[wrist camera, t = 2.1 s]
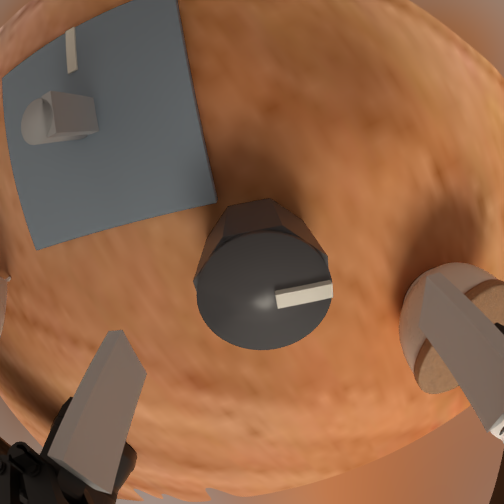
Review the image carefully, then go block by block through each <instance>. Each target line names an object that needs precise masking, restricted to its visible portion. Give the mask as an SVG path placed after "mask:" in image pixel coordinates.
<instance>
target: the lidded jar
mask: <svg viewBox="0 0 504 504" xmlns="http://www.w3.org/2000/svg"><path fill="white" fill-rule="evenodd" d="M439 272H440V273H441V274H442V275H443V276H445V277H446V278H447V279H448V280H449V281H450V282H451V283H452V284H453V285H454V286H456V287H457V288H458V289H459V290H460V291H461V292H462V293H463V294H464V295H465V296H466V297H467V298H468V299H469V300H470V301H471V302H472V303H473V304H474V305H475V306H476V307H477V308H478V309H479V310H480V311H481V312H482V313H483V314H484V315H485V316H486V317H487V318H488V319H489V320H490V321H491V322H492V323H493V324H495V323H497V322H498V323H499V324H501V325H503V326H504V282H503V281H501V280H498V279H497V278H496V277H494V276H493V275H492V274H490V273H489V272H487V271H485V270H483V269H481V268H479V267H477V266H474V265H471V264H468V263H460V262H453V263H447V264H443V265H440V266H438V267H436V268H432V269H430V270H428V271H426V272H424V273H423V274H421V275H420V276H419V277H418V278H417V279H416V280H415V281H414V282H413V283H412V285H411V286H410V288H409V289H408V291H407V293H406V295H405V298H404V302H403V307H402V310H401V314H400V319H399V338H400V343H401V347H402V350H403V353H404V356H405V358H406V361H407V363H408V365H409V367H410V368H411V370H412V372H413V374H414V376H415V380H416V382H417V383H418V385H419V387H420V388H421V390H423V391H424V392H426V393H429V394H438V393H443V392H446V391H449V390H451V389H454V388H456V387H457V386H459V384H458V383H457V381H456V379H455V378H454V376H453V375H452V373H451V372H450V370H449V369H448V367H447V366H446V364H445V363H444V361H443V360H442V358H441V357H440V356H439V354H438V353H437V351H436V350H435V348H434V347H433V346H432V344H431V343H430V341H429V340H428V339H427V337H426V336H425V334H424V333H423V332H422V330H421V329H420V328H419V326H418V325H419V320H420V315H421V309H422V303H423V297H424V290H425V283H426V276H428V275H432V274H435V273H439Z"/></svg>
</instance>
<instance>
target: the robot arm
mask: <svg viewBox="0 0 504 504" xmlns="http://www.w3.org/2000/svg"><path fill="white" fill-rule="evenodd" d="M418 326H419V328H420V329H421V330H422V332H423V333H424V334H425V336H426V337H427V339H428V340H429V341H430V343H431V344H432V346H433V347H434V348H435V350H436V351H437V353H438V354H439V356H440V357H441V358H442V360H443V361H444V363H445V364H446V366H447V367H448V369H449V370H450V372H451V373H452V375H453V376H454V378H455V379H456V381H457V383H458V384H459V386H460V387H461V389H462V390H463V392H464V394H465V395H466V397H467V399H468V400H469V402H470V403H471V405H472V407H473V409H474V410H475V412H476V414H477V415H478V417H479V419H480V421H481V422H482V424H483V426H484V428H485V430H486V431H487V432H489V431H490V430H492V429H493V428H495V427H496V426H498V425H499V424H500V423H501V422H502V421H503V420H504V326H503V325H501V324H499V323H498V322H497V323H495V324H493V323H492V322H491V321H490V320H489V319H488V318H487V317H486V316H485V315H484V314H483V313H482V312H481V311H480V310H479V309H478V308H477V307H476V306H475V305H474V304H473V303H472V302H471V301H470V300H469V299H468V298H467V297H466V296H465V295H464V294H463V293H462V292H461V291H460V290H459V289H458V288H457V287H456V286H454V285H453V284H452V283H451V282H450V281H449V280H448V279H447V278H446V277H445V276H443V275H442V274H441V273H440V272H439V273H435V274H432V275H428V276H426V283H425V290H424V297H423V303H422V309H421V315H420V320H419V325H418ZM146 375H147V373H146V371H145V369H144V368H143V366H142V364H141V363H140V361H139V359H138V357H137V356H136V354H135V352H134V350H133V349H132V347H131V345H130V343H129V341H128V339H127V338H126V336H125V334H124V332H123V330H117V331H109V332H108V333H107V335H106V337H105V339H104V340H103V342H102V344H101V346H100V347H99V349H98V351H97V353H96V355H95V356H94V358H93V360H92V362H91V364H90V366H89V368H88V369H87V371H86V373H85V375H84V377H83V379H82V381H81V383H80V385H79V387H78V389H77V391H76V393H75V395H74V397H70V398H69V399H68V400H67V401H66V402H65V403H64V405H63V406H62V408H61V410H60V412H59V414H58V416H57V417H56V418H55V419H54V422H53V424H52V426H51V431H50V433H49V435H48V438H47V440H46V442H45V445H44V447H43V449H42V452H41V453H40V455H39V454H37V453H36V452H35V451H34V450H33V449H32V448H30V447H29V446H28V445H27V444H26V443H24V442H16V443H15V444H13V445H12V446H11V445H9V444H8V443H7V442H5V440H3V439H2V438H1V437H0V504H115V503H116V499H117V494H118V491H119V489H120V488H121V486H122V485H123V484H124V482H125V481H126V479H127V478H128V476H129V475H130V473H131V472H132V471H133V470H134V468H135V464H136V460H137V455H136V453H135V451H134V450H133V449H132V448H131V447H130V446H129V445H128V444H126V443H125V441H126V438H127V435H128V431H129V428H130V424H131V421H132V418H133V415H134V411H135V408H136V405H137V402H138V399H139V396H140V393H141V390H142V387H143V384H144V381H145V378H146ZM503 433H504V427H503V428H502V429H501V431H500V433H499V435H502V434H503ZM489 504H504V451H503V457H502V461H501V465H500V469H499V473H498V477H497V481H496V485H495V488H494V491H493V494H492V497H491V500H490V503H489Z"/></svg>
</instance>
